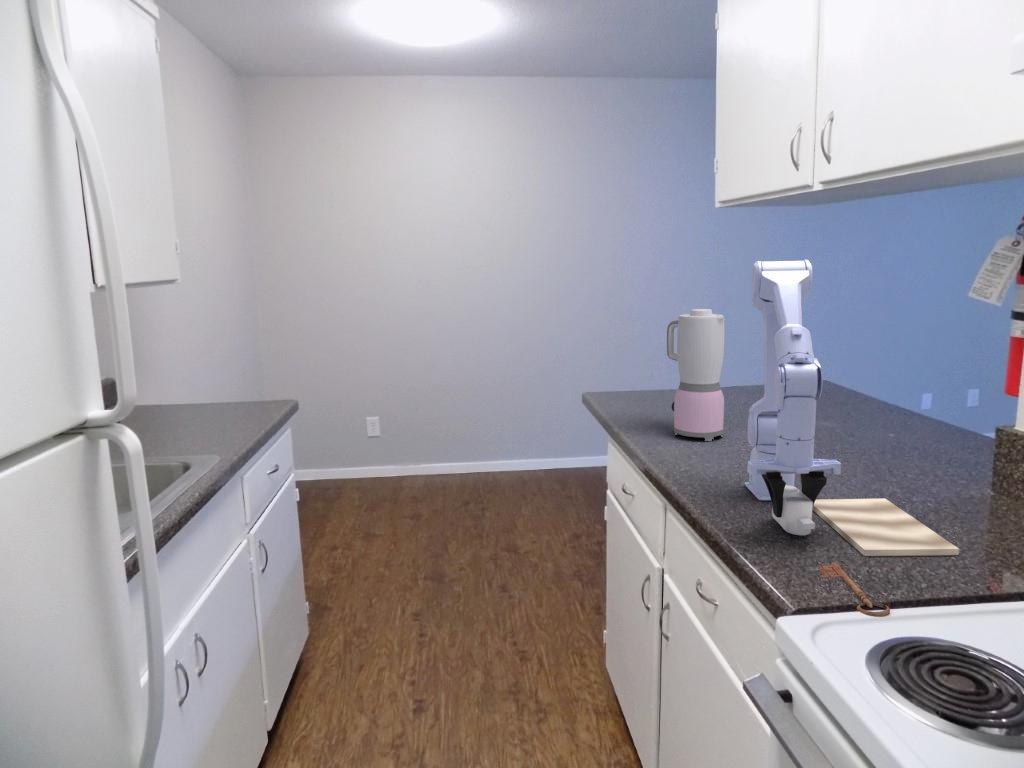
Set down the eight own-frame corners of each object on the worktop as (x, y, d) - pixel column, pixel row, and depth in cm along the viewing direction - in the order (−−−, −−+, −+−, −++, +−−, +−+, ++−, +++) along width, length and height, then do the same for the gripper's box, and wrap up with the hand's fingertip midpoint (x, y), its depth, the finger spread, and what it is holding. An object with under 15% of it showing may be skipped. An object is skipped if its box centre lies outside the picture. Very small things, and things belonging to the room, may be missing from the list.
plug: (768, 512, 120) (769, 485, 119) (791, 512, 120) (793, 484, 119) (795, 541, 108) (797, 511, 107) (821, 541, 108) (823, 510, 107)
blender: (732, 435, 175) (737, 309, 169) (708, 445, 166) (712, 312, 161) (678, 425, 186) (680, 306, 180) (653, 434, 178) (654, 310, 172)
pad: (806, 504, 126) (807, 499, 126) (884, 503, 125) (885, 498, 125) (864, 556, 104) (864, 549, 104) (958, 555, 104) (959, 548, 104)
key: (807, 568, 102) (847, 619, 88) (807, 562, 102) (846, 613, 87) (847, 566, 102) (894, 617, 87) (847, 560, 102) (894, 610, 87)
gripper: (758, 443, 109) (755, 524, 111) (851, 442, 108) (846, 523, 111) (744, 432, 116) (741, 509, 118) (832, 430, 115) (827, 507, 118)
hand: (791, 515), depth 115 cm, fingers closed on plug, 4 cm apart
